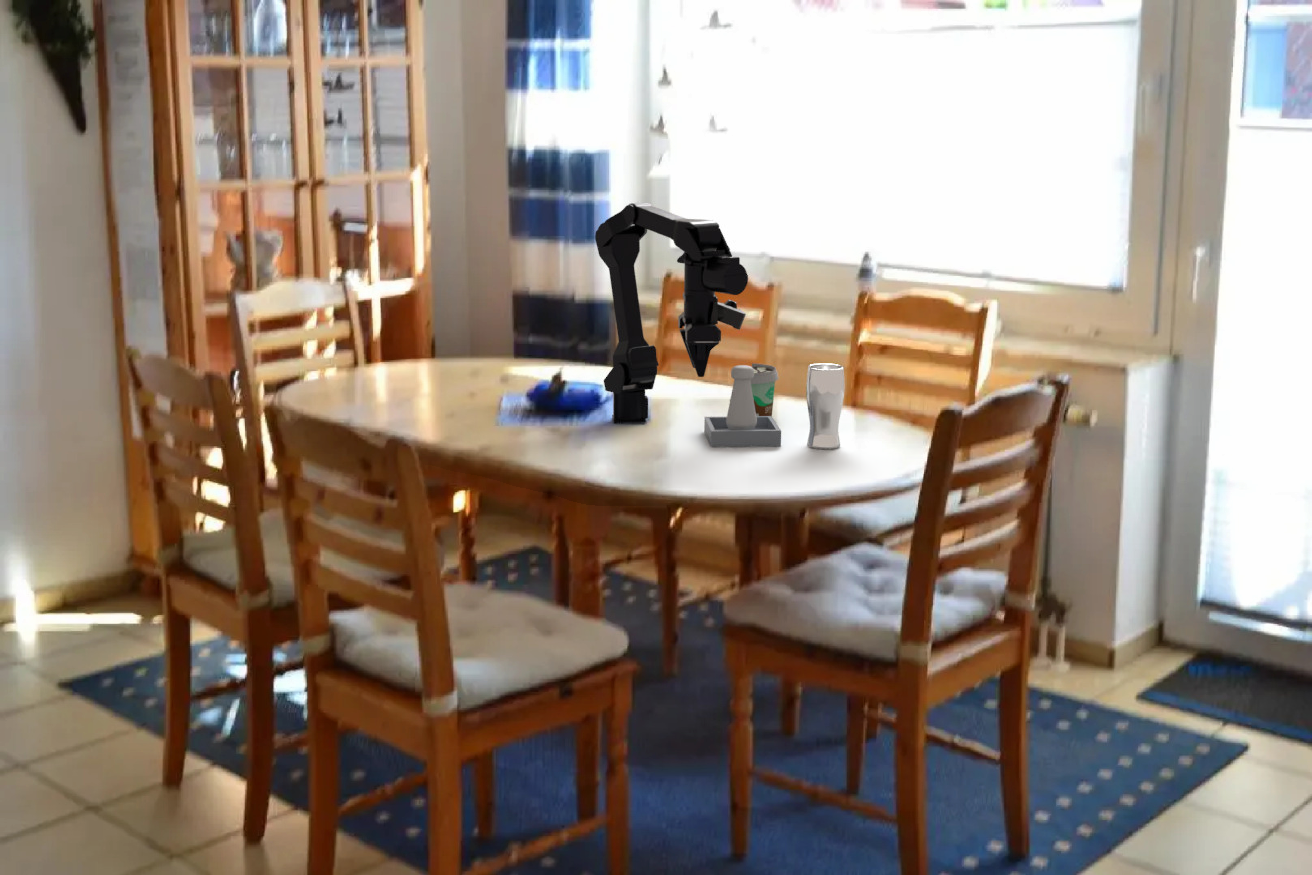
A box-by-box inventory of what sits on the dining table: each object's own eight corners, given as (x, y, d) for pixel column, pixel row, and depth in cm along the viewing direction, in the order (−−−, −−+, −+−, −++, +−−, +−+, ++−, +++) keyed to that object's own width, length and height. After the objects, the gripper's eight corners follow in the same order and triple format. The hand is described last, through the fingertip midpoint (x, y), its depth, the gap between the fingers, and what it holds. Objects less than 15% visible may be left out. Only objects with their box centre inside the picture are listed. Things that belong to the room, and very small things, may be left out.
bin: (711, 447, 289) (711, 431, 289) (704, 431, 302) (704, 416, 301) (780, 446, 290) (781, 430, 290) (771, 431, 303) (771, 416, 302)
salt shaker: (736, 438, 292) (737, 369, 289) (720, 432, 297) (721, 365, 294) (762, 435, 295) (764, 367, 292) (746, 429, 300) (747, 362, 297)
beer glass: (832, 452, 286) (834, 371, 283) (798, 447, 290) (800, 367, 286) (848, 444, 292) (851, 365, 289) (815, 440, 296) (817, 362, 292)
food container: (773, 424, 309) (774, 374, 307) (742, 423, 310) (743, 373, 308) (781, 412, 321) (782, 364, 319) (751, 410, 322) (752, 362, 320)
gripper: (749, 296, 281) (747, 381, 284) (736, 282, 299) (734, 363, 303) (687, 296, 280) (686, 381, 284) (678, 282, 298) (677, 363, 302)
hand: (698, 372), depth 293 cm, fingers open, 9 cm apart
